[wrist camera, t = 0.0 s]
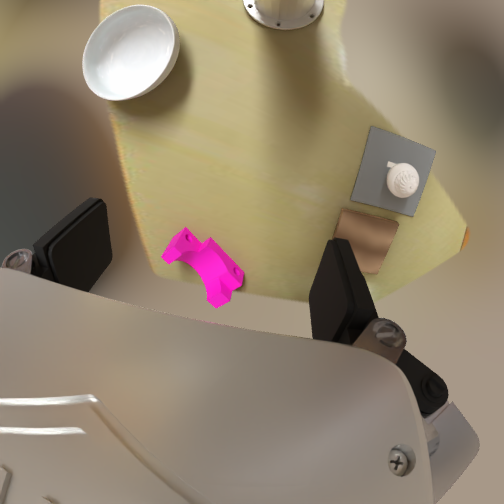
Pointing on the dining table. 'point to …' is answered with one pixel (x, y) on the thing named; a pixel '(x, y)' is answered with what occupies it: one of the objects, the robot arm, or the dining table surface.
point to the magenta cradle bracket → (206, 265)
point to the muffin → (402, 180)
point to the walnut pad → (366, 237)
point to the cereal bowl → (130, 53)
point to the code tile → (380, 162)
